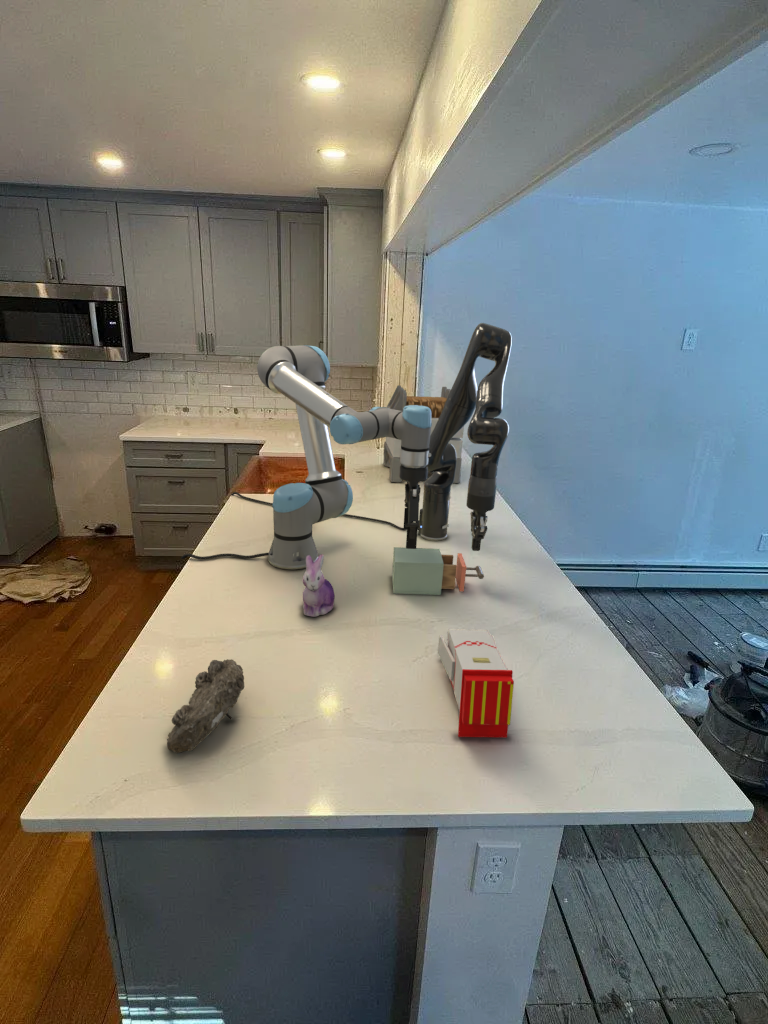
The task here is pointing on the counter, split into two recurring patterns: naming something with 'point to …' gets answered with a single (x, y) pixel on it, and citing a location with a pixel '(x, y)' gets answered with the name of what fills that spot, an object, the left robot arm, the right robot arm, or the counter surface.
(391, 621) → the counter surface
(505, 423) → the right robot arm
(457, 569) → the drawer
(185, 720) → the fossil
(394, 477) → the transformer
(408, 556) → the cabinet
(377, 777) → the counter surface
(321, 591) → the figurine
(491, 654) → the toy
